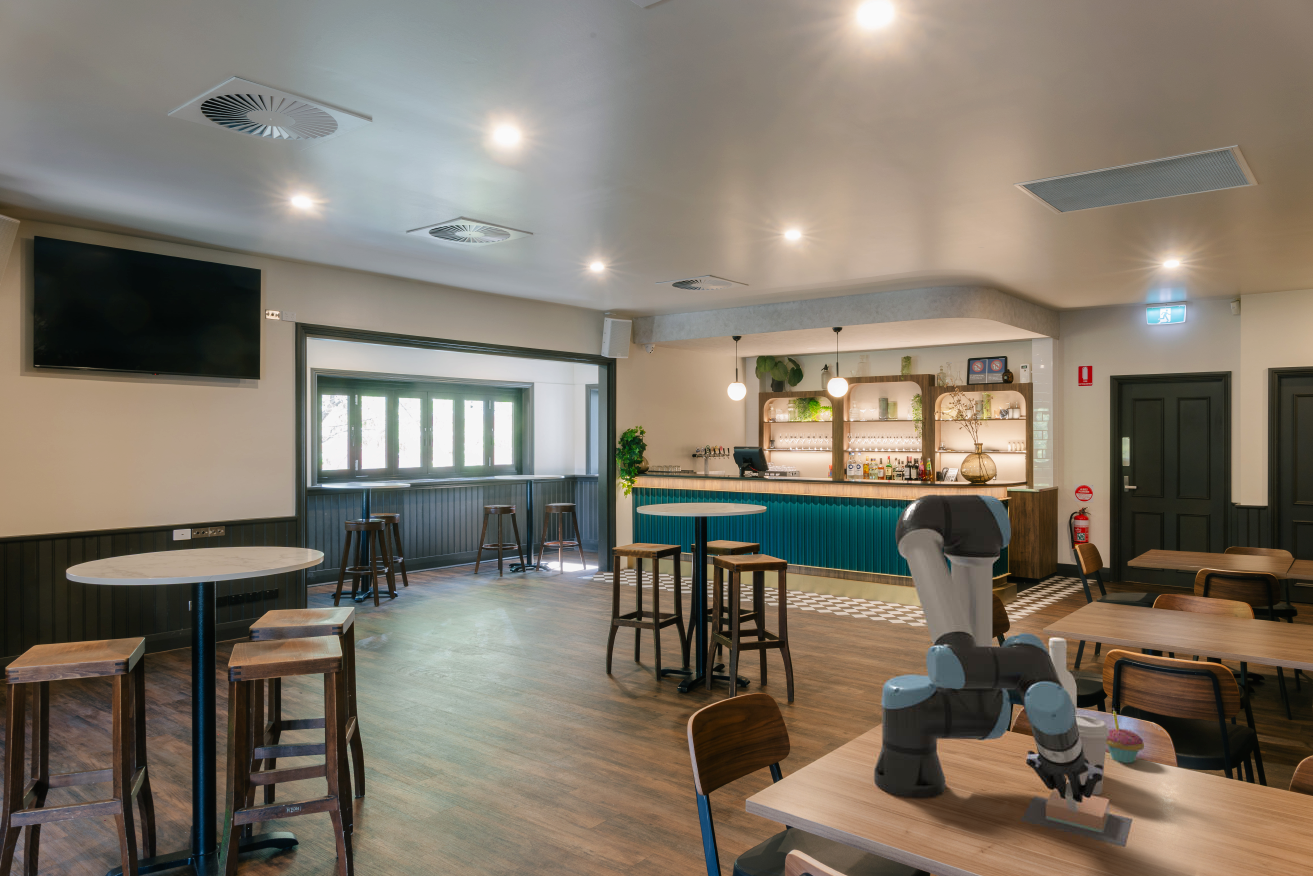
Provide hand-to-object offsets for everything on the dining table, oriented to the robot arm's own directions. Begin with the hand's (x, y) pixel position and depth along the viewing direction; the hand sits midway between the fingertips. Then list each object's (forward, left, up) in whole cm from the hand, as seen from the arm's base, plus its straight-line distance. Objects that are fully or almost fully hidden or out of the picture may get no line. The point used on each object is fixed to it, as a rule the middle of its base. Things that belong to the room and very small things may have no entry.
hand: (1074, 804), depth 155 cm
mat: (0, +3, -5) cm, 6 cm away
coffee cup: (-1, +22, -5) cm, 23 cm away
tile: (0, 0, -2) cm, 3 cm away
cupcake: (+4, +47, -5) cm, 47 cm away
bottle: (-8, +33, -5) cm, 34 cm away
